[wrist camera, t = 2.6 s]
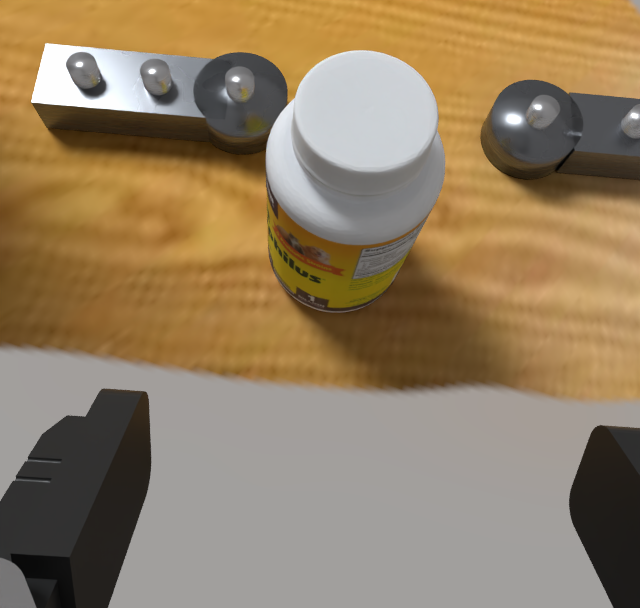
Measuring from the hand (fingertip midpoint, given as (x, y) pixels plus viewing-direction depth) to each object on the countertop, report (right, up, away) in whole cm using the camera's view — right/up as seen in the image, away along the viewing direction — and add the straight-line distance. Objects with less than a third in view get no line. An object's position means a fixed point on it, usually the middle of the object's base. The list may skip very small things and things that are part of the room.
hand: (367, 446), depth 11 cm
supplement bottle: (0, +5, +15) cm, 16 cm away
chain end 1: (-8, +11, +17) cm, 22 cm away
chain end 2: (+11, +10, +18) cm, 23 cm away
